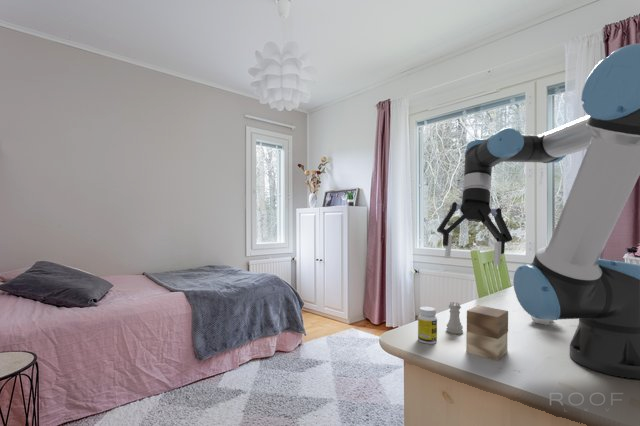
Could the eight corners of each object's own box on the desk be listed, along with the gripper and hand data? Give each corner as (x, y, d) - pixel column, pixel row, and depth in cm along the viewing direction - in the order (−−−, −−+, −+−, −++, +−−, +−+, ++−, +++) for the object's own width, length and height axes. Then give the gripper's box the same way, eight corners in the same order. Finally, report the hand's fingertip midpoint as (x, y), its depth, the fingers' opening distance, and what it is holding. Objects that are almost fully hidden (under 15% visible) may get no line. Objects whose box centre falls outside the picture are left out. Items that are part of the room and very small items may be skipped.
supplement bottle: (434, 345, 86) (434, 312, 86) (415, 341, 88) (415, 309, 88) (438, 339, 90) (439, 307, 90) (420, 336, 92) (421, 305, 92)
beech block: (507, 352, 82) (507, 331, 82) (497, 361, 77) (497, 339, 77) (477, 344, 87) (477, 324, 87) (466, 352, 82) (466, 331, 82)
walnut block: (508, 331, 82) (508, 310, 82) (497, 339, 77) (498, 317, 77) (478, 324, 87) (478, 305, 87) (466, 331, 82) (466, 310, 82)
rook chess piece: (464, 335, 93) (464, 305, 93) (447, 333, 94) (447, 304, 94) (461, 329, 98) (461, 301, 98) (444, 328, 99) (445, 300, 99)
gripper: (514, 199, 104) (511, 269, 99) (430, 189, 107) (424, 256, 102) (526, 192, 97) (524, 267, 92) (436, 181, 100) (430, 252, 95)
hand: (472, 261), depth 97 cm, fingers open, 13 cm apart
